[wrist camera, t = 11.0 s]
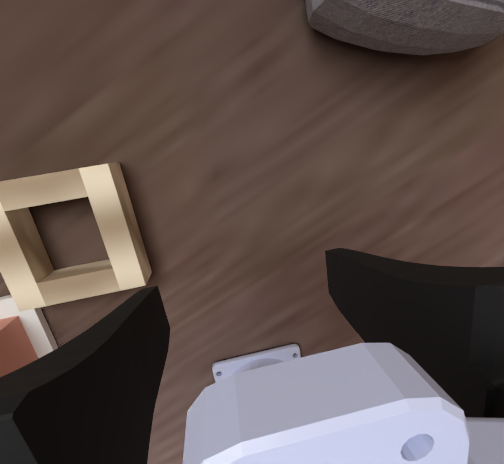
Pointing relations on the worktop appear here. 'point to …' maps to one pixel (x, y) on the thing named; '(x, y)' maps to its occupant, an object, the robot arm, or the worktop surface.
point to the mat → (30, 325)
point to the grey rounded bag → (409, 23)
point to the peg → (14, 346)
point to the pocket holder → (34, 253)
